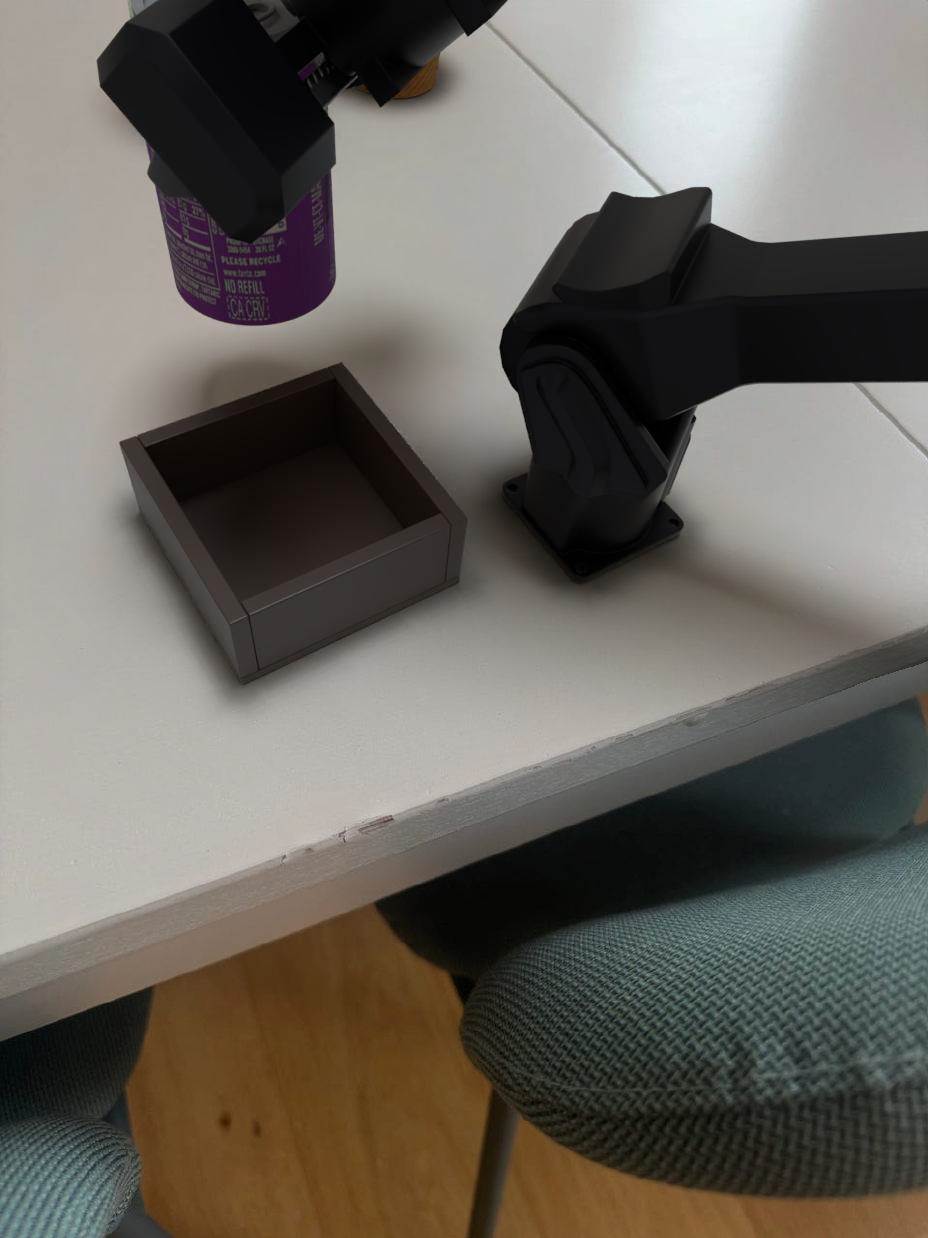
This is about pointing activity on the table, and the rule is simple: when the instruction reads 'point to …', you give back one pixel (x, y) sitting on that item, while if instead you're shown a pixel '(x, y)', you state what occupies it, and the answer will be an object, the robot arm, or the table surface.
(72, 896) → the table surface
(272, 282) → the beverage can
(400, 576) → the open box
